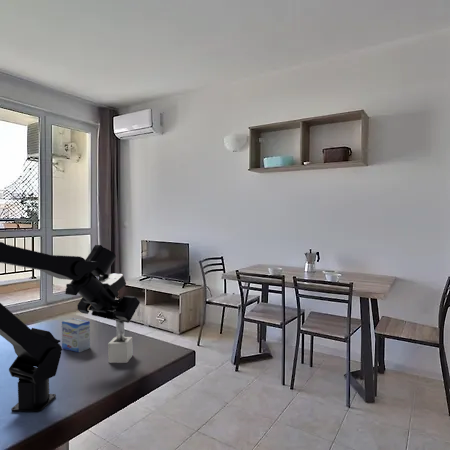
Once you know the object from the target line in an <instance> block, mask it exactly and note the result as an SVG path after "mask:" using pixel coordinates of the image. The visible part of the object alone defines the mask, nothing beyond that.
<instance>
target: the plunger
mask: <svg viewBox="0 0 450 450" xmlns="http://www.w3.org/2000/svg"><path fill="white" fill-rule="evenodd" d="M114 314H115V311H114V312H113V315H114ZM115 322H116V323H115V324H116V325H115V328H116V330H115V331H116V333H115V335H116V336H115V337H117V342H125V337H126V336H125V322H123V321H119V320H116V321H115Z"/></svg>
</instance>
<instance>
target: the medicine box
mask: <svg viewBox="0 0 450 450" xmlns="http://www.w3.org/2000/svg"><path fill="white" fill-rule="evenodd" d="M90 322H91V321H90V320H89V321H88V320H83V319H77V318H74V317H73V318H67V319H65V320H62V321H61V347H62V350H67V351H72V352H75V353H82V352H84V351H87V350H88V349H90V348H91V323H90Z"/></svg>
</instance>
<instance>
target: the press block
mask: <svg viewBox="0 0 450 450" xmlns="http://www.w3.org/2000/svg"><path fill="white" fill-rule="evenodd" d="M124 337H125V342H117V336H114V337H113V338H112V339H111V340H110V341H109V342H108V343H107V347H108V348H107V350H108V351H107V352H108V363H109V364H128V362H129V361H130V360H131V358H132V357H133V356H132V355H133V337H132V336H124Z"/></svg>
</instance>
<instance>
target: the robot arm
mask: <svg viewBox="0 0 450 450" xmlns="http://www.w3.org/2000/svg"><path fill="white" fill-rule="evenodd" d="M116 258H117V255H116V254H115V252H114V251H111V250H110V249H108V248H107V247H103V245H102V244H95V245H94V246H93V247H92V249H91V251H90V253H89V254H88V256H87V257H86V258H84V257H82V256H76V255H75V256H74V255H63V254H62V255H60V254H58V255H56V254H48V253H43V252H40V251H39V252H38V251H36V250H31V249H27V248H24V247H18V246H15V245H10V244H7V243H5V242H2V241H0V264H6V265H10V266H16V267H21V268H26V269H27V268H28V269H32V270H38V271H41V272H43V273H45V274H47V275H48V276H51V277H54V278H56V279H59V280H69V281H70V283H66V284H65V285H66V287H65V292H64V293H65V295H69V296H77V295H80V296H81V299H80V301H78V303H77V310H78V312H80V314H81V313H82V314H85V315H86V314H87V315H88V314H89V312H91V311H92V312H91V316H94V317H98V318H101V319H107V320H112V321H115V322H116V320H119V321H123V322H124V323H127V324H129V323H130V322H131V320H132V319H133V317H134V315H135V313H136V311H137V309H138V308H139V305H140V304H141V301H140V299H139V298H138V297H137V296H133V295H132V296H131V295H124V296H122V297H119V295H120V293H119V291H120V290H121V289H122V288H123V287H126V285H127V282H126V279H125V277H124V274H122V273H108V274H107V272H108V271H109V269H110V268H111V267H112V265H113V263H114V262H115V260H116ZM97 277H98V278H97ZM118 297H119V298H118ZM116 298H118V299H116ZM114 311H115V314H114V315H113V312H114ZM0 336H1V337H2V338H3V339H4V340H5V341H7V342H9V343H10V344H11V346H12V347H13V350H14V353H15V354H16V355H17V356H16V358H15V359H14V361H13V363H11V365H10V366H9V368H8V371H9V374H10V376H11V377H13V378H17V379H18V381H17V400H18V401H17V403H16V404H15V405H14V406H13V407H11V412H29V413H31V412H32V413H33V412H34V413H36V412H37V413H38V412H42V411H43V410H44V409H45V408H46V407H47V406H48V405H49V404H50V403H51V402H52V401H53V400H54V399H55V398H56V396H57V395H56V393H50V379H51V378H53V377H55V376H57V371H58V368H59V363H60V360H61V356H62V351H63V348H62V344H60V343H61V340H60V339H57V338H55V336H54V335H53V333H51V332H50V330H45V329H40V328H35V327H31V328H30V327H29V326H28V325H26V323H24V322H23V321H22V320H21V319H20V318H18V317H17V316H16V315H15V314H14V313H12V311H11V310H9V309H8V308H7V307H6V306H5V305H3V304H2V303H1V302H0Z"/></svg>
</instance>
